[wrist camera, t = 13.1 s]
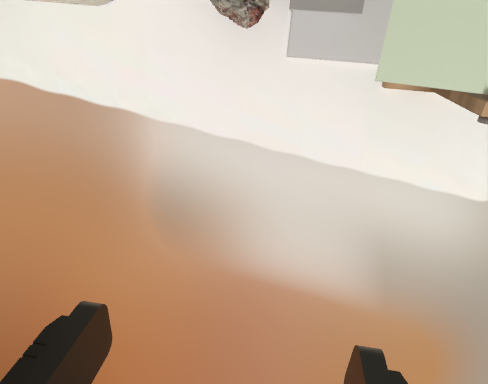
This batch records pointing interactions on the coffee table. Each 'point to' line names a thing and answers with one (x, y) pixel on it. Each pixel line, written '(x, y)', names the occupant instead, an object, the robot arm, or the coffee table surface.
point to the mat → (340, 34)
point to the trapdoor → (437, 45)
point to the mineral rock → (242, 10)
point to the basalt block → (328, 6)
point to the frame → (453, 98)
